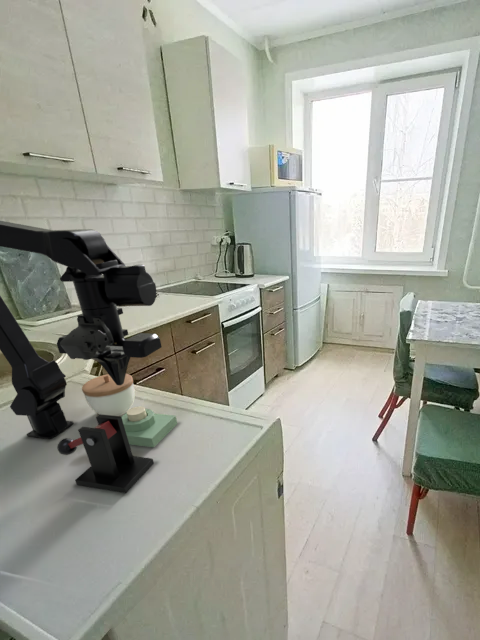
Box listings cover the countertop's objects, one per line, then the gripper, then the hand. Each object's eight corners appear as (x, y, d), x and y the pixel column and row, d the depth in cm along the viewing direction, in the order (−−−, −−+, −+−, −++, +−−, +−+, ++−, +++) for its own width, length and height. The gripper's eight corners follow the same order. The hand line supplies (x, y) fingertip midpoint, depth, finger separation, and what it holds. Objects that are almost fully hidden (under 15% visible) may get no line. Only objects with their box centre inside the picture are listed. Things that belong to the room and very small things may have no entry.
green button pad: (103, 441, 73) (98, 424, 71) (131, 419, 81) (126, 403, 79) (153, 447, 70) (149, 430, 68) (177, 423, 78) (174, 408, 76)
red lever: (60, 460, 63) (49, 446, 62) (73, 450, 66) (63, 437, 65) (107, 442, 58) (96, 427, 57) (119, 432, 61) (109, 417, 60)
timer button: (124, 421, 73) (122, 414, 72) (135, 412, 76) (133, 405, 75) (139, 423, 72) (137, 415, 71) (150, 414, 75) (148, 407, 74)
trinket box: (122, 424, 79) (111, 387, 75) (80, 421, 81) (68, 384, 77) (148, 401, 88) (140, 367, 84) (110, 399, 90) (100, 365, 86)
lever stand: (76, 485, 61) (56, 433, 56) (108, 457, 68) (92, 408, 63) (126, 493, 59) (108, 439, 54) (154, 463, 65) (140, 413, 61)
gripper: (16, 316, 58) (48, 400, 65) (112, 319, 54) (136, 408, 61) (69, 301, 68) (92, 375, 75) (154, 302, 64) (170, 381, 70)
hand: (120, 384), depth 70 cm, fingers closed
